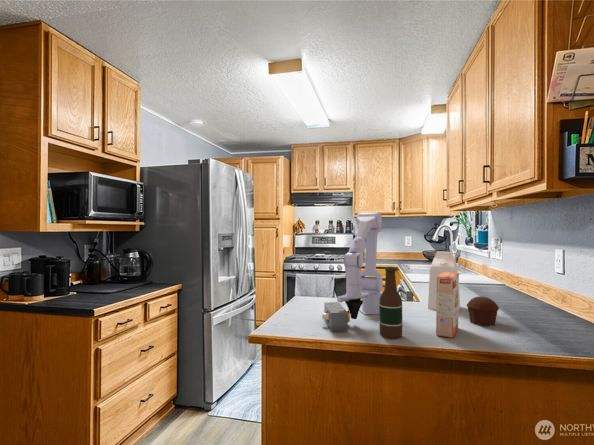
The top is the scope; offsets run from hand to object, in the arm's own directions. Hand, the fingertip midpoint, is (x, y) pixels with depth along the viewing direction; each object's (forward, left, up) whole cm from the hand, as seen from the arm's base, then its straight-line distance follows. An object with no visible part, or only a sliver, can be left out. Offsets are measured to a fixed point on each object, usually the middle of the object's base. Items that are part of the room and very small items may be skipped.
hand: (353, 318), depth 134 cm
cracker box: (-32, +12, -3) cm, 34 cm away
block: (+7, 0, -2) cm, 8 cm away
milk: (-48, -21, -3) cm, 52 cm away
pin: (+7, 0, -1) cm, 7 cm away
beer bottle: (-10, +14, -3) cm, 17 cm away
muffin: (-51, +3, -3) cm, 51 cm away
